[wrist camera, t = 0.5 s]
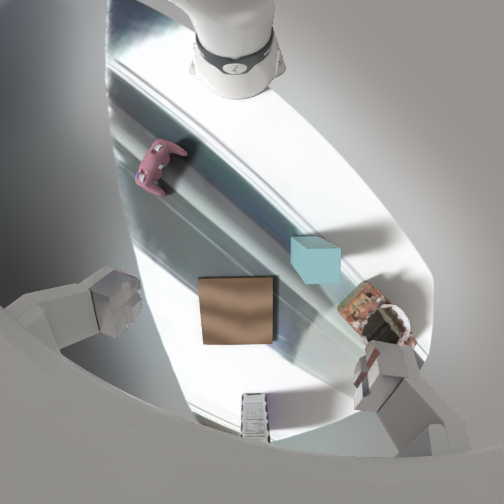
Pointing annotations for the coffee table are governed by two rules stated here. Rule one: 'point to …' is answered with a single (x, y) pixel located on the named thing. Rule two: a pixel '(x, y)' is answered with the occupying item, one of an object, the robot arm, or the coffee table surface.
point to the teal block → (315, 259)
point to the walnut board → (236, 310)
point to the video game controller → (156, 165)
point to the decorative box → (376, 317)
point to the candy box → (255, 418)
